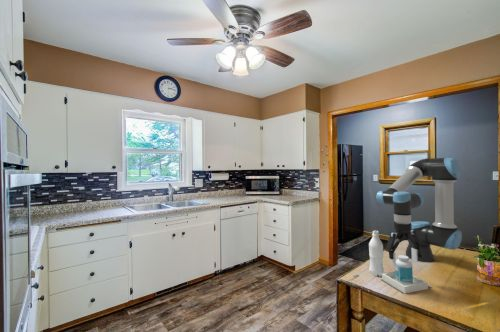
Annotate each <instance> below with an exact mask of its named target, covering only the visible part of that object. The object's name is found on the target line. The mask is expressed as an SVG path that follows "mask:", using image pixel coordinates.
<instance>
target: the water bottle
mask: <svg viewBox="0 0 500 332" xmlns="http://www.w3.org/2000/svg"><path fill="white" fill-rule="evenodd" d="M371 236H372V237H371V239H370V240H369V242H368V252H369V253H368V254H369V269H368V270H369V273H370V274H371V275H372V276H373V277H381V278H382V274H383V273H385V269H384V261H383V260H384V244H383V242H382V240H381V239H380V234H379V230H375V229H374V230H372V234H371Z"/></svg>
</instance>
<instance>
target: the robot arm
mask: <svg viewBox="0 0 500 332" xmlns="http://www.w3.org/2000/svg"><path fill="white" fill-rule="evenodd" d="M461 176H462V166H461V164H460V162H459V160H458V159H457V158H453V157H439V158H438V157H436V158H435V157H433V158H431V157H430V158H428V157H427V158H422V159H420V160H419V159H418V160H417V161H415V162H413V163H411V164H410V165H409V166H407V168H406V169H405V171H404V173H403V174H402V175H401V176H400V177H398V179H396V180H395V181H394V182H393V183H392V184H391V185H390V186H389V187H388V188H386V190H379V191H378V192H377V193H376V194H375V195H376V196H375V197H376V202H377V203H379V204H383V205H389V206H393V227H394V228H393V229H394V230H395V231H394V232H390V233H389V238H388V241H387V243H386V247H385V248H384V250H385V251H384V252H388V258H389V264H390V265H391V266H394V267H395V266H396V260H397V259H396V258H397V257H396V253H395V252H396V251H397V249H398V246H399V244H401V243H402V242H405V241H407V243H408V244H407V247H406V250H405V256H407V257H409V259H410V260H411V261H413V262H415V263H418V261H419V262H424V263H425V262H426V263H430V262H433V261H434V260H435V255H434V254H433V250H432V248H431V245H432V246H435V247H440V248H444V249H446V250H447V249H448V250H452V251H453V250H457V249H458V248H459V247H460V246H461V243H462V239H463V234H462V231H461V230H458V226H457V225H456V224H455V222H454V219H455V217H454V215H455V213H454V211H455V209H454V205H455V204H454V202H455V201H454V183H456V182H457V181H458V180H457V179H458V178H461ZM425 177H429V178H431V181H433V183H434V208H435V209H434V213H435V214H434V217H435V218H434V219H435V220H434V222H432V224H431V223H430V222H429V221H424V220H423V221H421V220H420V221H419V220H418V221H412V209H415V208H416V209H417V208H419V207H421V206H423V204H424V203H425V198H424V196H423V195H422V194H421V193H418V192H411V193H410V192H409V191H407V190H409V188H410V187H411V186H413V184H415V182H416V181H418V180H420V179H421V178H425Z"/></svg>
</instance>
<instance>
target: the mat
mask: <svg viewBox="0 0 500 332" xmlns="http://www.w3.org/2000/svg"><path fill="white" fill-rule="evenodd" d="M380 281H382V282H383V283H384V284H387V286H389V287H391V288H392V289H394V290H396V291H397V292H399V293H401V294H402V295H403V294H404V295H405V294H406V293H403V292H402V291H400V290H398V289H397V288H395V287H393V286H392V285H390V284H389V283H387V282H385V281H384V280H382V279H380ZM430 289H433V286H430V285H428V289H425V290H430ZM425 290H424V291H425Z"/></svg>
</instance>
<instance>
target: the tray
mask: <svg viewBox="0 0 500 332" xmlns="http://www.w3.org/2000/svg"><path fill="white" fill-rule="evenodd" d="M381 280H384V281H385V282H387V283H389V284H390V285H392V286H393V287H395V288H397V289H398V290H400V291H402V292H403V293H405V294H409V293H413V292H414V293H415V292H419V291H425V289H426V290H429V289H428V286H429V282H428V281H425V280H423V279H421V278H419V277H418V276H416V275H414V274H413V284H411V285H406V286H404V285H402V284H401V283H399V282H397V281H396V275H395V271H391V272H390V271H389V272H384V273H383V274H382V276H381ZM385 282H384V283H385ZM393 287H392V288H393ZM398 290H397V291H398Z"/></svg>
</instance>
